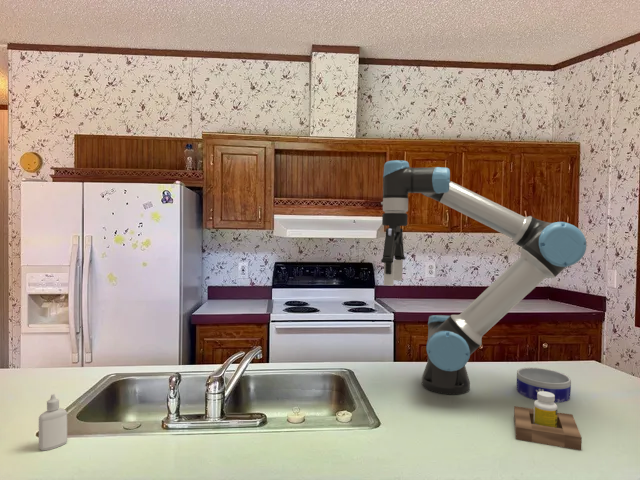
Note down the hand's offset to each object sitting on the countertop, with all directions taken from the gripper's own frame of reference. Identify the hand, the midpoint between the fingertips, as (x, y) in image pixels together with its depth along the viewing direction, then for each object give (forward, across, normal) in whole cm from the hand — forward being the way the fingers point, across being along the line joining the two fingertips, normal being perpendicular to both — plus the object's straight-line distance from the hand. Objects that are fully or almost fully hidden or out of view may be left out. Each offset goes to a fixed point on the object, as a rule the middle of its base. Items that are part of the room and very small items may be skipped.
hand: (393, 282), depth 136 cm
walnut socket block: (+34, +9, +42) cm, 55 cm away
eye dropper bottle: (+35, +61, -66) cm, 97 cm away
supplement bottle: (+35, +9, +42) cm, 55 cm away
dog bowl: (+35, -21, +44) cm, 60 cm away
